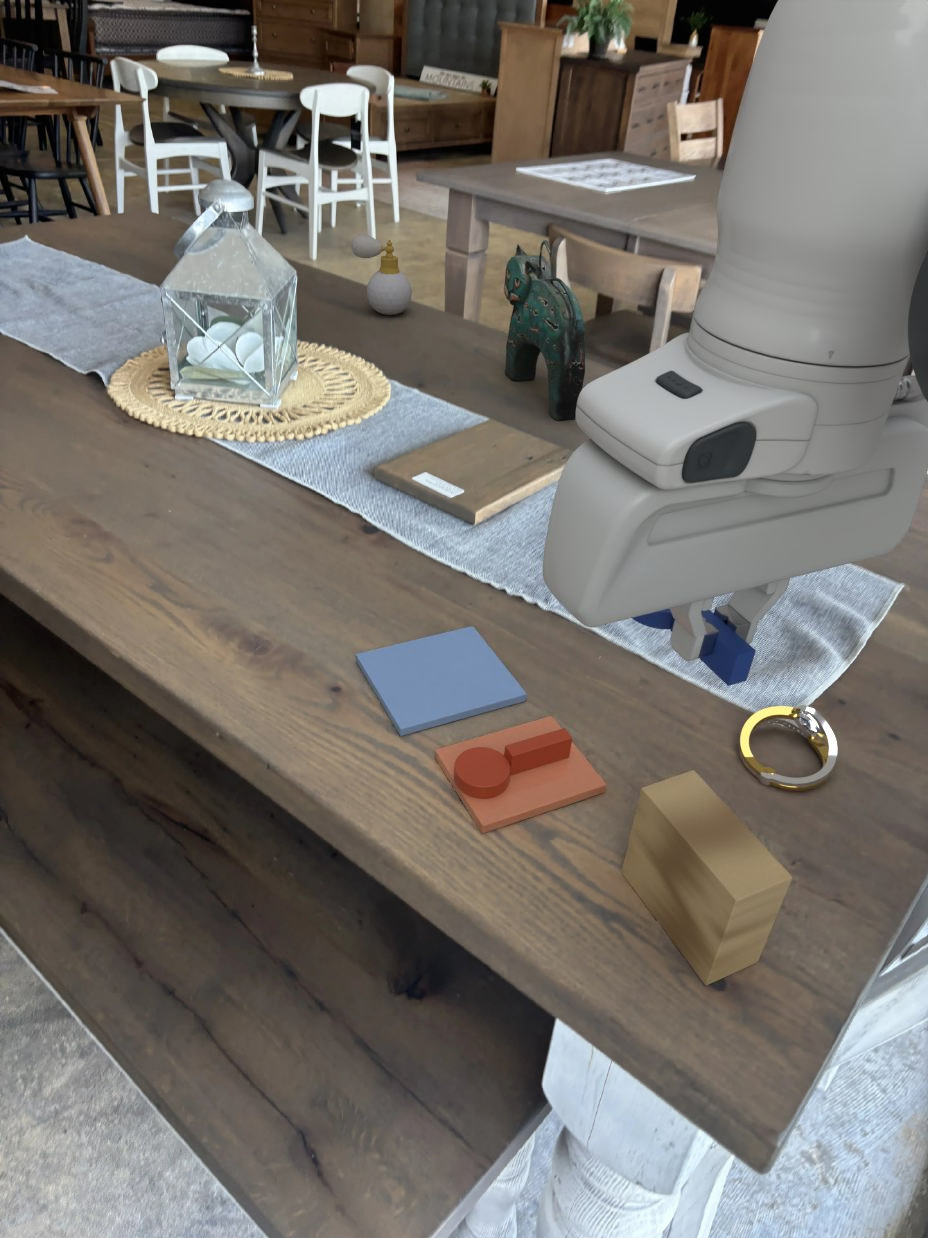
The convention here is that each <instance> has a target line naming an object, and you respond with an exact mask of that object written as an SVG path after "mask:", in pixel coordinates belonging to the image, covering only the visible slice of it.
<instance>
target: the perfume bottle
mask: <svg viewBox="0 0 928 1238" xmlns="http://www.w3.org/2000/svg"><path fill="white" fill-rule="evenodd" d="M350 248H351V251H352V253H353V255H354V256H356V257H358V258H361V259H371V258H375V257H377V256H379V255H381V253H382V252H384V251H385V252H386V254H385V255H381V256H380V267H379V270H377V271H376V272H375V273H373V274H372V276H371V277H370V278H369V280H368V283H367V285H366V296H367V300H368V303H369V305H370V306H371V308H372V309H373V310H374V311H375V312H377V313H378V314H382V315H384V316H385V315H386V316H397V315H398V314H401V313H403V312H404V311H405V310H406V309H407V308H408V306H409V305H410V303H411V301H412V294H413V291H412V285H411V282H410V280H409V279H408V277H407V276H406V275H405V274H404V273H403V272H402V271H401V270H400V267H399V257H398V256H396V255H394V254H393V253H394V252H395V248H394V246H393V242H392V240H391V239H388V241H387V242H386V246H383V244H382V243H381V242H380V241H379V240H378V239H377V238H374V237H373V236H370V235H366V234H358V235H356V236H355V237H354V238H353V239H352V241H351V243H350Z"/></svg>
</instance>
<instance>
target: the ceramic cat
mask: <svg viewBox="0 0 928 1238" xmlns="http://www.w3.org/2000/svg"><path fill="white" fill-rule="evenodd" d="M516 245H517V246H516V248H515V249H516V250H515V254H514V256H511V257H510V259H508V262H507V263H506V267H505V272H504V273H505V274H504V285H503V294H504V296H505V298H506V299H507V300H508V302H509V304H510V305H511V306H513V308H512V311H511V315H510V321H509V326H508V333H507V340H506V344H505V367H504V375H505V376H507V378H509V379H510V380H511V381H514V382H527V381H535V379H536V375H537V374H536V373H537V365H538V359H539V356H540V354H542V357H543V359H544V362H545V365H546V370H547V383H548V385H547V390H548V391H547V392H548V414H549V416H550V417H551V418H553V419H554V420H556V421H558V422H559V421H566V420H576V405H577V400H578V397H579V394H580V392H581V391H582V389H583V388H584V387H583V386H584V381H585V375H586V330H585V323H584V317H583V313H582V309H581V306H580V303H579V301H578V298H577V296H576V295H575V293H574V291H572V289H571V288H570V287H569V286H568V285H567V284H566V283H565V281H563V280H562V279H561V278H559V277H553V273H552V269H551V265H550V264H549V261H548V259H547V258H546V257H545V256H544V255H543V247H544V246H545V248H546V251H547V252H548V254H549V256H550V257H551V256H552V249H551V245H550V243H549V241H548V240H546V239H544V240H542V242H541V243H540V247H539V255H538V254H534V255H533V254H532V255H531V254H530V255H529V254H527V253H526V252H525V251H524V249H523V248H522V246H521V245H520V244H516Z"/></svg>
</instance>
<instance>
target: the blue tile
mask: <svg viewBox="0 0 928 1238" xmlns="http://www.w3.org/2000/svg"><path fill="white" fill-rule="evenodd" d="M355 662H356V664H357V666H358V667H359V669H360V670H361V673H362V674H363V676H364V678H365V679H366V681H367V682H368V684H369V686H370V688H371V689H372V691H373V693H374V694H375V695H376V697H377V700H378V701H379V703H380V705H381V707H382V708H383V709H384V711H385V713H386V714H387V716H388V717H389V720H390V721H391V723H392V724H393V726H394V727H395V729H396V731H397V733H398V734H399V736H400V737H403V736H407V735H410V734H414V733H418V732H421V731H425V730H428V729H432V728H435V727H438V726H442V725H446V724H449V723H453V722H456V721H460V720H463V719H467V718H471V717H474V716H477V715H481V714H485V713H489V712H492V711H496V710H499V709H502V708H506V707H510V706H513V705H516V704H520V703H523V702H527V697H528V693H527V692H526V691H525V690H524V688H523V687H522V686H521V684H520V683H519V682H518V680H517V679H516V678H515V677H514V675H513V674H512V673H511V672H510V671H509V669H508V668H507V667H506V666H505V664H504V663H503V662H502V660H501V659H500V658H499V657H498V655H497V654H496V652H494V651H493V649H492V648H491V647H490V645H489V644H488V643H487V642H486V640H485V639H484V638H483V636H482V635H481V634H480V633H479V632H478V630H477V629H476V628H475V626H473V625H471V626H467V627H462V628H458V629H454V630H449V631H446V632H442V633H437V634H433V635H429V636H425V637H421V638H417V639H413V640H409V641H405V642H399V643H396V644H391V645H387V646H383V647H379V648H375V649H371V650H368V651H367V650H366V651H363V652H358V653H355Z"/></svg>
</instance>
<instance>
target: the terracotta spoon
mask: <svg viewBox="0 0 928 1238" xmlns="http://www.w3.org/2000/svg"><path fill="white" fill-rule="evenodd" d="M572 742H573V736H572V735H571V734H570V733H569V732H568V731H567V729H566V728H565V727H563V728H562V729H559V730H556V731H553V732H549V733H546V734H543V735H539V736H536V737H533V738H529V739H526V740H522V741H519V742H516V743H512V744H509V745H506V746H505V751H504V755H503V754H501V753H500V752H498V751H496V750H494V749H491V748H485V747H476V748H471V749H468V750H466V751H464V752H462V753H461V754H460V755H459V756H458V757H457V759H456V761H455V765H454V781H455V784H456V786H457V787H458V788H459V789H460V790H461V791H462V792H463V793H465V794H466V795H468V796H471V797H474V798H481V799H486V798H492V797H495V796H498V795H500V794H501V793H503V792H504V791H505V790H506V788H507V787H508V784H509V780H510V775H514V774H517V773H520V772H524V771H527V770H530V769H533V768H536V767H540V766H543V765H546V764H549V763H552V762H556V761H559V760H562V759H565V758H568V757H569V756H570V750H571V744H572Z"/></svg>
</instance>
